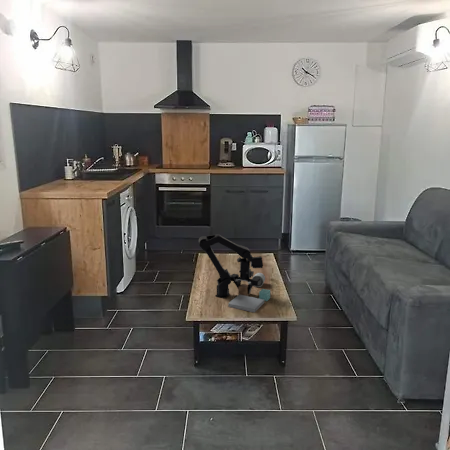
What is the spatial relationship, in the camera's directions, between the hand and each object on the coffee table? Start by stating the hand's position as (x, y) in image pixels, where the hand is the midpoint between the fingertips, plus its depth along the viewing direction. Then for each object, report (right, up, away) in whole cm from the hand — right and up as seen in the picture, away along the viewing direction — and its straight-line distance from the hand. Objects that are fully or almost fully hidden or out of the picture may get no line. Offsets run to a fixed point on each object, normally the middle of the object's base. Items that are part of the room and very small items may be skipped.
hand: (244, 292), depth 264 cm
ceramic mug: (+8, +3, +15) cm, 17 cm away
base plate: (0, -5, -14) cm, 14 cm away
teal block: (+12, -3, -6) cm, 13 cm away
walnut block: (0, -1, 0) cm, 1 cm away
